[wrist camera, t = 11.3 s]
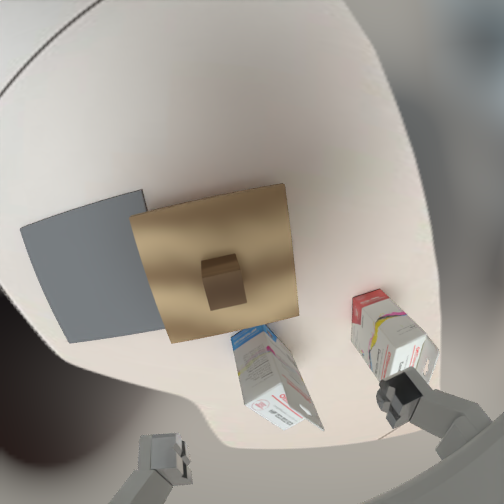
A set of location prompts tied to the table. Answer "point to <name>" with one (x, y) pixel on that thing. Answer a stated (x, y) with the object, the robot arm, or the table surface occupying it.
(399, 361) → the ink cartridge box
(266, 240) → the oak cover
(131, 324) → the rubber mat
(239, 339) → the ink box
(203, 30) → the table surface
